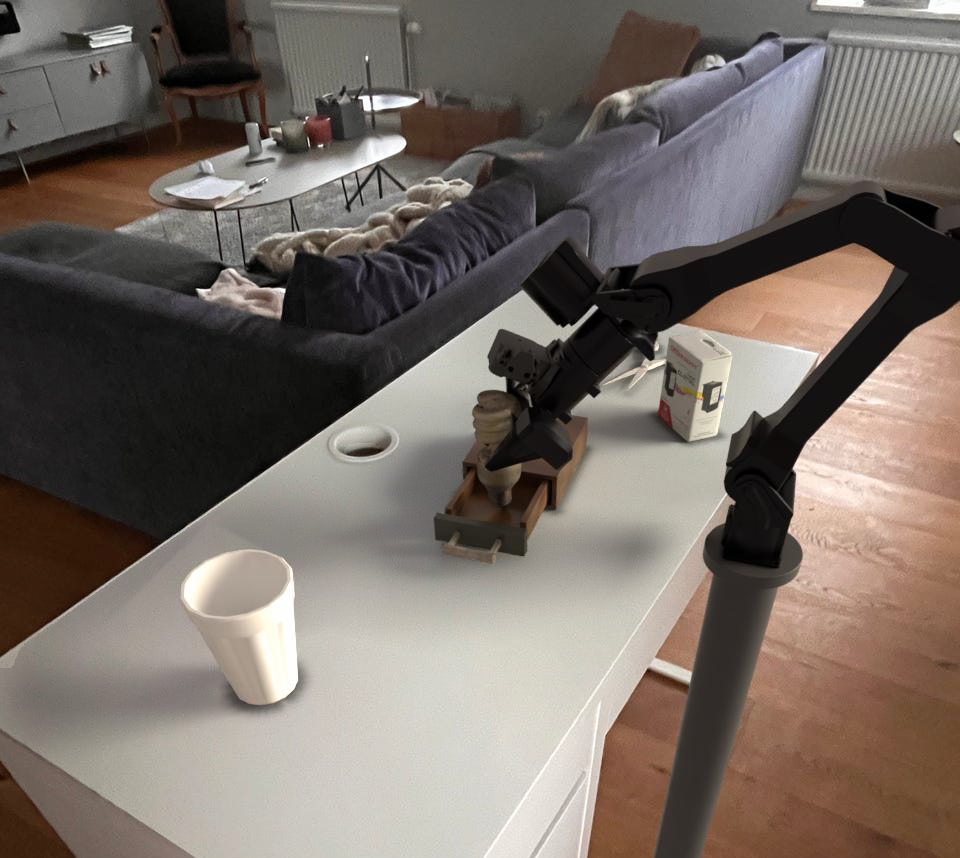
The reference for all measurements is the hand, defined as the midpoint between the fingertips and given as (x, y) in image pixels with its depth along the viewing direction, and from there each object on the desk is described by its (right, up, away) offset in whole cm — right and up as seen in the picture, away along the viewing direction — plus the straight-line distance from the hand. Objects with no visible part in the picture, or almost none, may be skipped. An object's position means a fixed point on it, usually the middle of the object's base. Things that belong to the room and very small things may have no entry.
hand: (486, 456), depth 94 cm
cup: (-22, -26, -12) cm, 36 cm away
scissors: (+25, +22, +35) cm, 48 cm away
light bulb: (+2, -5, +5) cm, 7 cm away
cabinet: (+6, +1, +15) cm, 16 cm away
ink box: (+29, +9, +22) cm, 37 cm away
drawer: (+1, -7, +5) cm, 9 cm away
